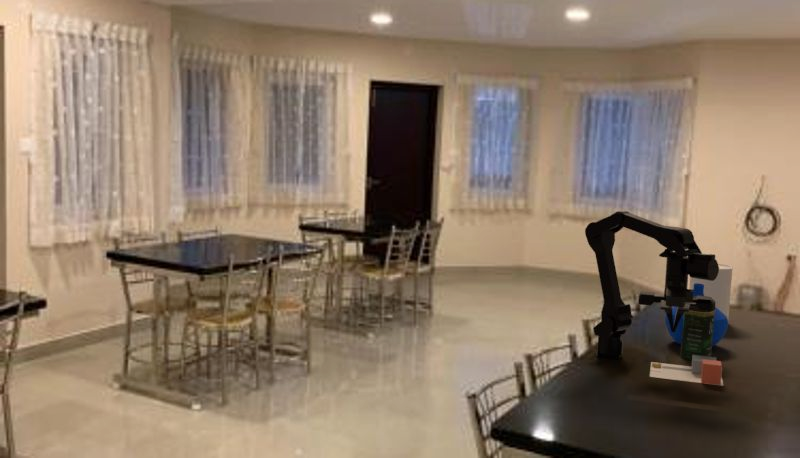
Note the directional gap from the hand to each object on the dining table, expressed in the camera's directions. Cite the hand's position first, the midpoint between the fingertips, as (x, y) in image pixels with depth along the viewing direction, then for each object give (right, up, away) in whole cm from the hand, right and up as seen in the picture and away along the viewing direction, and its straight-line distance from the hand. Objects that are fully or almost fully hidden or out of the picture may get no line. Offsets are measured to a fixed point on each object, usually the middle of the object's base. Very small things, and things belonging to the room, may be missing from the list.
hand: (673, 332), depth 214 cm
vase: (+18, -8, +32) cm, 37 cm away
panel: (+2, -12, -3) cm, 12 cm away
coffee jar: (+12, -10, +15) cm, 21 cm away
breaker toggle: (+8, -10, -1) cm, 13 cm away
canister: (+35, -5, +65) cm, 74 cm away
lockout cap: (+6, -12, -10) cm, 16 cm away
